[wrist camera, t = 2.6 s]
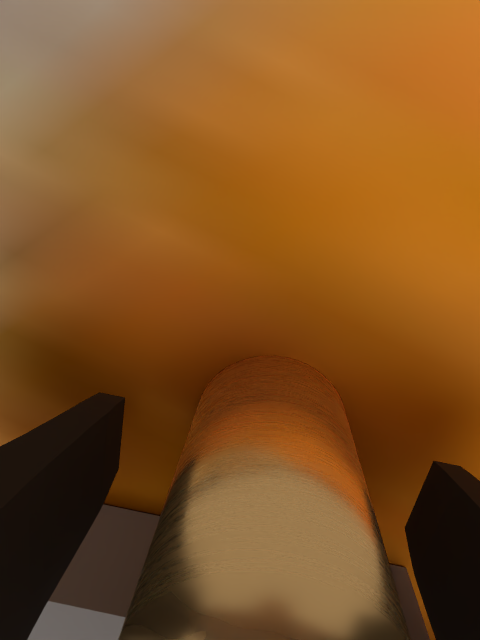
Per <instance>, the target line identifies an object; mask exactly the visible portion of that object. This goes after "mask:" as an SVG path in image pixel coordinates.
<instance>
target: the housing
mask: <svg viewBox="0 0 480 640" xmlns="http://www.w3.org/2000/svg"><path fill="white" fill-rule="evenodd" d="M159 518H160V516H157V515H152V514H147V513H142V512H138V511H133V510H128V509H123V508H118V507H114V506H109V505H104V504H103V506H102V508H101V510H100V512H99V514H98V515H97V517H96V519H95V521H94V522H93V524H92V526H91V528H90V529H89V531H88V533H87V535H86V536H85V538H84V540H83V542H82V543H81V545H80V547H79V549H78V550H77V552H76V554H75V556H74V557H73V559H72V561H71V562H70V564H69V566H68V568H67V569H66V571H65V573H64V575H63V576H62V578H61V580H60V581H59V583H58V585H57V587H56V588H55V590H54V592H53V594H52V595H51V597H50V599H49V600H48V602H47V604H46V606H45V607H44V609H43V611H42V613H41V615H40V617H39V618H38V620H37V622H36V624H35V626H34V628H33V630H32V632H31V633H30V635H29V637H28V639H27V640H118V639H119V636H120V633H121V630H122V627H123V624H124V621H125V618H126V615H127V612H128V609H129V606H130V603H131V600H132V598H133V595H134V592H135V589H136V586H137V583H138V580H139V577H140V574H141V571H142V568H143V565H144V562H145V559H146V556H147V554H148V551H149V548H150V545H151V542H152V539H153V536H154V533H155V530H156V527H157V524H158V521H159ZM389 565H390V569H391V572H392V576H393V579H394V582H395V586H396V589H397V593H398V596H399V600H400V603H401V607H402V610H403V614H404V617H405V621H406V624H407V628H408V631H409V635H410V638H411V640H430V639H429V636H428V633H427V630H426V627H425V624H424V620H423V617H422V614H421V611H420V608H419V605H418V602H417V599H416V596H415V593H414V590H413V587H412V584H411V581H410V578H409V575H408V572H407V569H406V568H405V567H400V566H395V565H391V564H389Z"/></svg>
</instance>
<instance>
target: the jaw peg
mask: <svg viewBox="0 0 480 640" xmlns="http://www.w3.org/2000/svg"><path fill="white" fill-rule="evenodd" d="M118 640H411V638H410V635H409V631H408V628H407V624H406V621H405V617H404V614H403V610H402V607H401V603H400V600H399V596H398V593H397V589H396V586H395V582H394V579H393V576H392V572H391V569H390V565H389V562H388V558H387V555H386V551H385V548H384V544H383V541H382V537H381V534H380V530H379V527H378V523H377V520H376V516H375V513H374V510H373V506H372V503H371V499H370V496H369V492H368V489H367V485H366V482H365V478H364V475H363V471H362V468H361V464H360V461H359V457H358V454H357V450H356V447H355V444H354V440H353V437H352V433H351V430H350V426H349V423H348V419H347V416H346V412H345V409H344V405H343V403H342V400H341V398H340V396H339V394H338V392H337V390H336V389H335V387H334V386H333V385H332V384H331V382H330V381H329V380H328V379H327V378H326V377H325V376H324V375H323V374H321V373H320V372H318V371H317V370H316V369H314V368H312V367H311V366H309V365H307V364H305V363H302V362H300V361H297V360H294V359H290V358H286V357H279V356H259V357H253V358H248V359H244V360H242V361H239V362H236V363H234V364H232V365H230V366H228V367H227V368H225V369H224V370H222V371H221V372H219V373H218V374H217V375H216V376H215V377H214V378H213V379H212V380H211V381H210V383H209V384H208V385H207V387H206V388H205V390H204V392H203V394H202V396H201V398H200V401H199V404H198V407H197V410H196V413H195V416H194V419H193V422H192V424H191V427H190V430H189V433H188V436H187V439H186V442H185V445H184V448H183V451H182V454H181V457H180V460H179V463H178V466H177V468H176V471H175V474H174V477H173V480H172V483H171V486H170V489H169V492H168V495H167V498H166V501H165V504H164V507H163V510H162V512H161V515H160V518H159V521H158V524H157V527H156V530H155V533H154V536H153V539H152V542H151V545H150V548H149V551H148V554H147V556H146V559H145V562H144V565H143V568H142V571H141V574H140V577H139V580H138V583H137V586H136V589H135V592H134V595H133V598H132V600H131V603H130V606H129V609H128V612H127V615H126V618H125V621H124V624H123V627H122V630H121V633H120V636H119V639H118Z"/></svg>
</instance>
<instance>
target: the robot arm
mask: <svg viewBox="0 0 480 640" xmlns="http://www.w3.org/2000/svg"><path fill="white" fill-rule="evenodd" d="M124 403H125V398H124V397H119V396H114V395H109V394H104V393H97V394H96V395H94V396H92V397H90V398H88V399H86V400H85V401H83V402H81V403H79V404H78V405H76V406H74V407H72V408H71V409H69V410H67V411H65V412H64V413H62V414H60V415H58V416H57V417H55V418H53V419H51V420H49V421H48V422H46V423H44V424H42V425H40V426H39V427H37V428H35V429H33V430H31V431H30V432H28V433H26V434H24V435H22V436H20V437H18V438H16V439H14V440H12V441H10V442H8V443H6V444H4V445H2V446H0V640H27V639H28V637H29V635H30V633H31V632H32V630H33V628H34V626H35V624H36V622H37V620H38V618H39V617H40V615H41V613H42V611H43V609H44V607H45V606H46V604H47V602H48V600H49V599H50V597H51V595H52V594H53V592H54V590H55V588H56V587H57V585H58V583H59V581H60V580H61V578H62V576H63V575H64V573H65V571H66V569H67V568H68V566H69V564H70V562H71V561H72V559H73V557H74V556H75V554H76V552H77V550H78V549H79V547H80V545H81V543H82V542H83V540H84V538H85V536H86V535H87V533H88V531H89V529H90V528H91V526H92V524H93V522H94V521H95V519H96V517H97V515H98V514H99V512H100V510H101V508H102V506H103V503H104V501H105V499H106V497H107V494H108V492H109V490H110V487H111V485H112V483H113V480H114V478H115V476H116V473H117V471H118V468H119V457H120V446H121V436H122V425H123V414H124ZM405 532H406V537H407V542H408V547H409V553H410V557H411V562H412V566H413V570H414V575H415V578H416V581H417V584H418V587H419V590H420V593H421V596H422V599H423V602H424V605H425V608H426V611H427V614H428V617H429V620H430V623H431V626H432V629H433V632H434V635H435V638H436V640H480V481H479V480H478V479H476V478H475V477H474V476H473V475H471V474H470V473H469V472H467V471H466V470H465V469H463V468H462V467H461V466H457V465H452V464H447V463H442V462H437V461H433V464H432V466H431V468H430V471H429V473H428V475H427V477H426V480H425V482H424V484H423V487H422V489H421V491H420V494H419V496H418V498H417V501H416V503H415V505H414V508H413V510H412V512H411V515H410V517H409V519H408V522H407V524H406V526H405Z"/></svg>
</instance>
